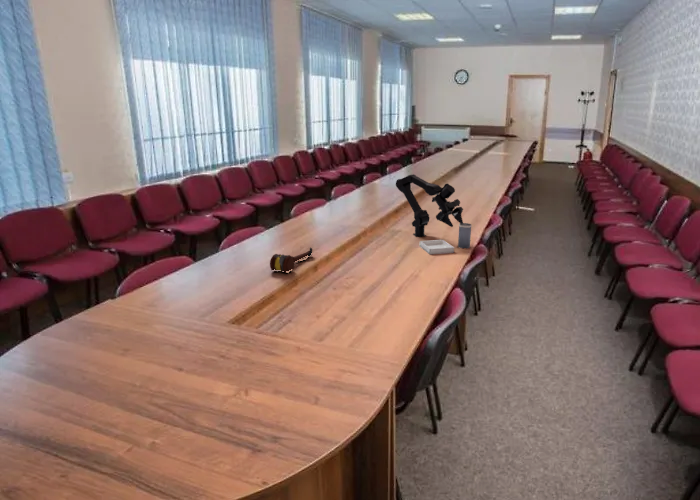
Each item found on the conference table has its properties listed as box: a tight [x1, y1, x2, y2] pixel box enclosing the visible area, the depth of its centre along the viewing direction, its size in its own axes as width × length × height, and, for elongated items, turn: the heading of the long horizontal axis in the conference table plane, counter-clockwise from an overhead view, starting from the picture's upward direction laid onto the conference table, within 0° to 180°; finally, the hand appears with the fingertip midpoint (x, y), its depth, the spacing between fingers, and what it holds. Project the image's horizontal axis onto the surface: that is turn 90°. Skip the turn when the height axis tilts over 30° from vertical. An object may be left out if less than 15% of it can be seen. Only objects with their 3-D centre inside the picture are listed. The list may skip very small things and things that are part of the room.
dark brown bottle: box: [269, 247, 313, 272], centre depth 242 cm, size 10×34×10 cm
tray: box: [418, 239, 455, 255], centre depth 267 cm, size 16×14×3 cm
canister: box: [457, 222, 472, 249], centre depth 269 cm, size 7×7×13 cm
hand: (457, 225), depth 272 cm, fingers open, 9 cm apart
